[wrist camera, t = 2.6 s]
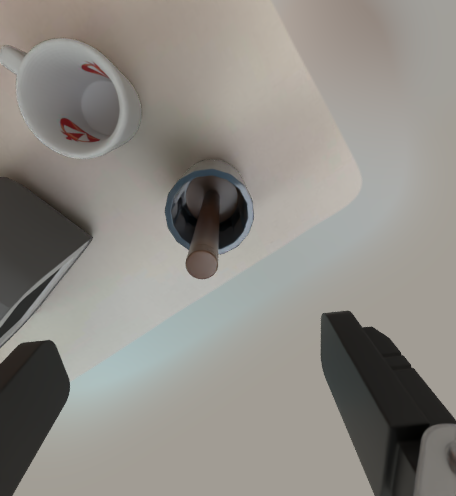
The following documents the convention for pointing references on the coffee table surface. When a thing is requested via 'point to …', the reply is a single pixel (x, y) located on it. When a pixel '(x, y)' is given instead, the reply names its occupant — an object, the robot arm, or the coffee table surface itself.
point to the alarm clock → (31, 253)
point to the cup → (73, 97)
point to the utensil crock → (185, 222)
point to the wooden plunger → (208, 221)
